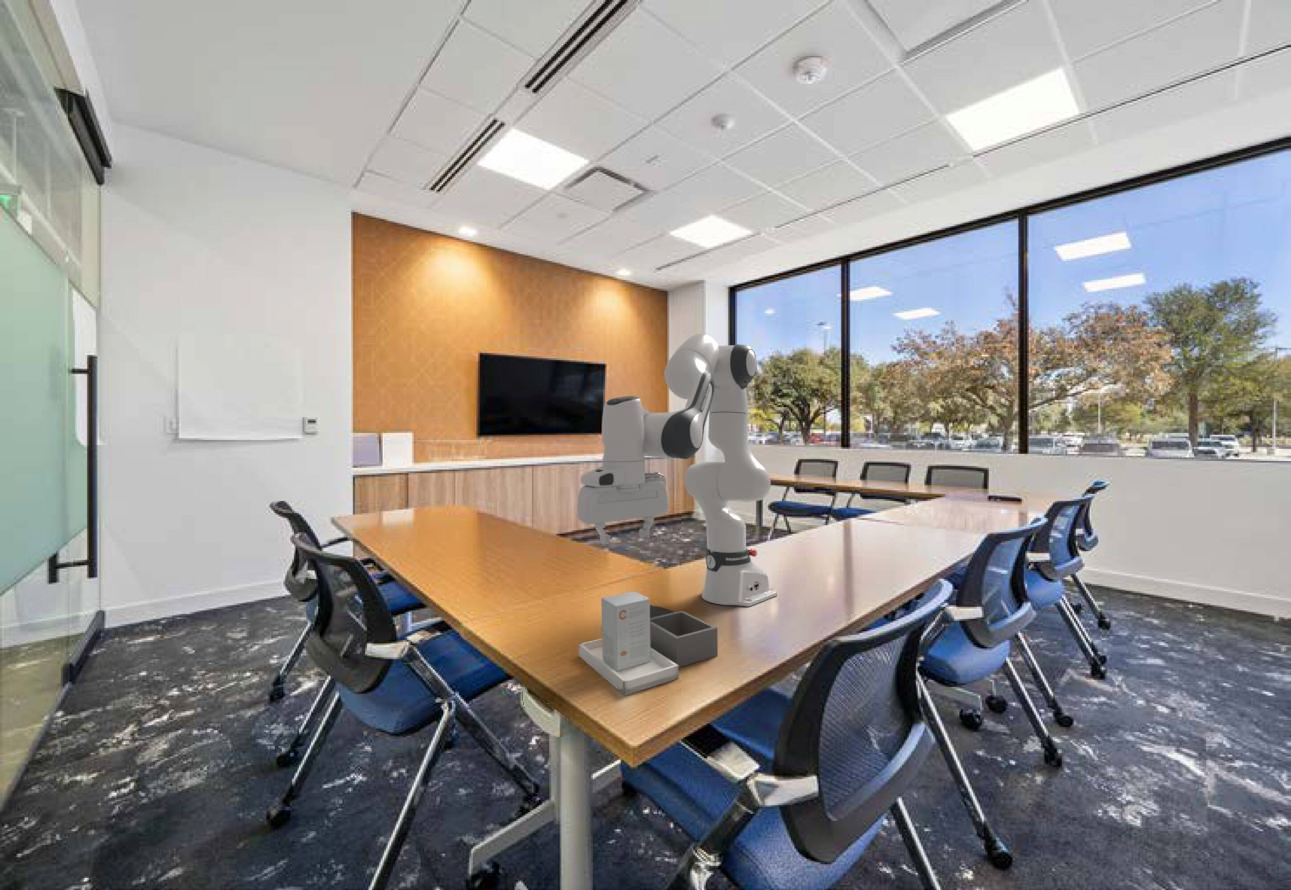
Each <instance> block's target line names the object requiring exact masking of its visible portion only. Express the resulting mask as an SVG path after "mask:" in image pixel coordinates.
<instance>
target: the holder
mask: <svg viewBox="0 0 1291 890" xmlns="http://www.w3.org/2000/svg"><path fill="white" fill-rule="evenodd" d="M674 612H675V613H670V614H666V615H662V616H658V617H653V618H650V647H651V648H652V649H654V650H656V651H657V652H659V653H660V654H662V655H663V656H665V657H666V658H668V659H669V660H671V661H673V662H674V663H676V664H677V665H679V668H682V667H686V666H688V665H692V664H694V663H698V662H701V661H706V660H708V659H712V658H714V657H717V656H719V655H718V653H719V652H718V651H719V650H718V648H719V647H718V646H719V645H718V627H717V626H715V625H713V624H711V623H708V622H706V621H704V620H703V619H701V618H699V617H696V616H695V615H692V614H690V613H688V612H686V611H684V610H680V611H674Z"/></svg>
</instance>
